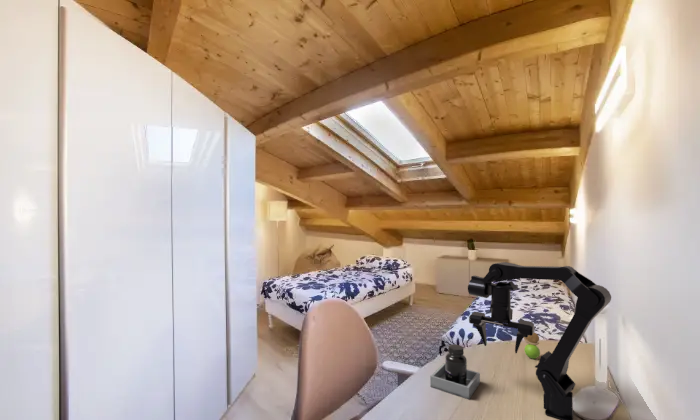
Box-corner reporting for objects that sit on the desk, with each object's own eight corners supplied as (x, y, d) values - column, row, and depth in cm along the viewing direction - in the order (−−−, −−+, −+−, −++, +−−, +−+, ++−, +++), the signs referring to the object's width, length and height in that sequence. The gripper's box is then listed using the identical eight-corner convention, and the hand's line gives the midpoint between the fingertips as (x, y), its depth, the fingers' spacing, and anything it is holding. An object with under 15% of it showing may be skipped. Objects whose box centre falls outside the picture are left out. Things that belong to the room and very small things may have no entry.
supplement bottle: (442, 384, 106) (441, 347, 106) (449, 376, 111) (449, 341, 112) (462, 391, 101) (462, 352, 102) (469, 382, 107) (469, 346, 107)
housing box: (479, 383, 108) (479, 372, 108) (468, 399, 98) (468, 387, 98) (444, 372, 115) (444, 362, 115) (430, 386, 105) (430, 376, 105)
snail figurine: (522, 353, 132) (521, 324, 133) (540, 357, 129) (539, 327, 129) (521, 358, 127) (520, 328, 128) (540, 362, 124) (539, 330, 125)
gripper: (536, 300, 105) (536, 348, 105) (477, 292, 116) (476, 335, 116) (532, 308, 96) (532, 360, 96) (468, 298, 107) (468, 345, 107)
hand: (500, 349), depth 104 cm, fingers open, 9 cm apart
